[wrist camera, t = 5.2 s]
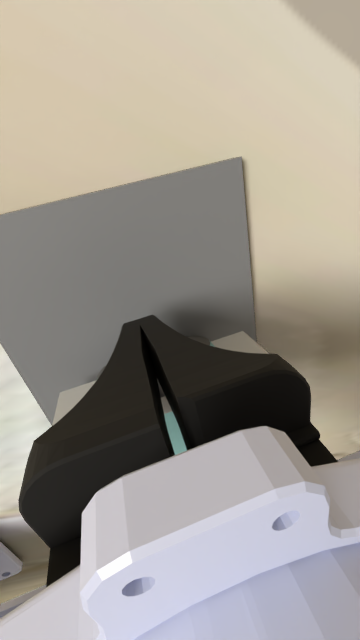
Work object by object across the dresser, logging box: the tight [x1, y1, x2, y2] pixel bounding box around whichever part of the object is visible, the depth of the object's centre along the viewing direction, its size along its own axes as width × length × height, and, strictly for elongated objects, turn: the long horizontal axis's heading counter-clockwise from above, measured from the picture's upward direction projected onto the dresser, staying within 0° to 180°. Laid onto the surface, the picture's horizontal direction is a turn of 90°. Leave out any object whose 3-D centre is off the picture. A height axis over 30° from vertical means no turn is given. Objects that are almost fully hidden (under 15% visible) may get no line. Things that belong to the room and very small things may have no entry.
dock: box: [0, 157, 257, 425], centre depth 16 cm, size 12×22×2 cm, turn 12°
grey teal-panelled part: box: [52, 331, 269, 455], centre depth 14 cm, size 9×8×4 cm
